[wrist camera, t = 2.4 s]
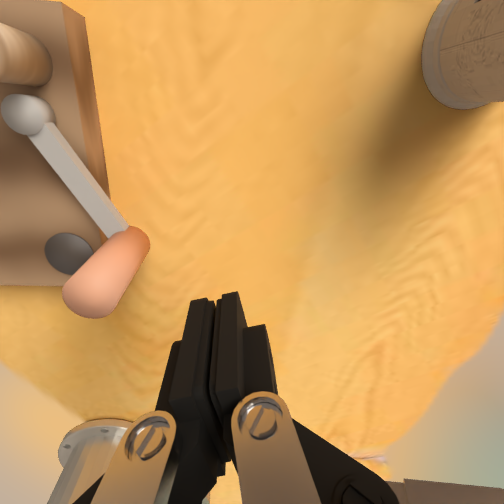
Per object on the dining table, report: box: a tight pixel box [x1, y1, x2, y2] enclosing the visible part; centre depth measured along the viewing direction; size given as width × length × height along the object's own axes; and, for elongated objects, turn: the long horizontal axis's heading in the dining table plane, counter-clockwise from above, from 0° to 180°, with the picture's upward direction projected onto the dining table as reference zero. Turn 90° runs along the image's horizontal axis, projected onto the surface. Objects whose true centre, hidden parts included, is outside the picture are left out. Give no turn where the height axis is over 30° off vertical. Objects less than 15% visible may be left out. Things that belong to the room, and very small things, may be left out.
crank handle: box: [1, 94, 150, 319], centre depth 18 cm, size 12×3×8 cm, turn 27°
